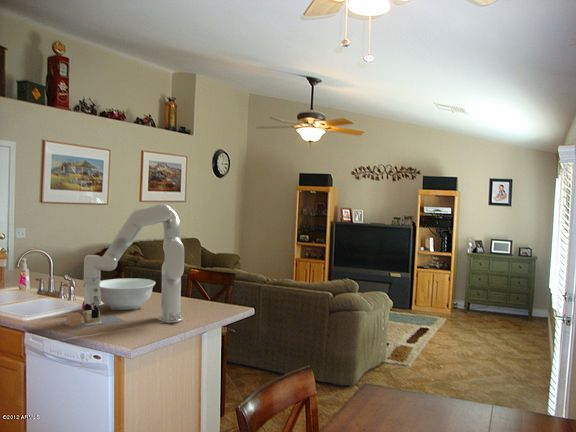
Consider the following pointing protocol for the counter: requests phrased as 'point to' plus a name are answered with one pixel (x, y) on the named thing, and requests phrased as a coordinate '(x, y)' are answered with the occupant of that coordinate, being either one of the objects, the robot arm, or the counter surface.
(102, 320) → the board
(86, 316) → the maple block
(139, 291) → the bowl
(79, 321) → the terracotta cube
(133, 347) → the counter surface
